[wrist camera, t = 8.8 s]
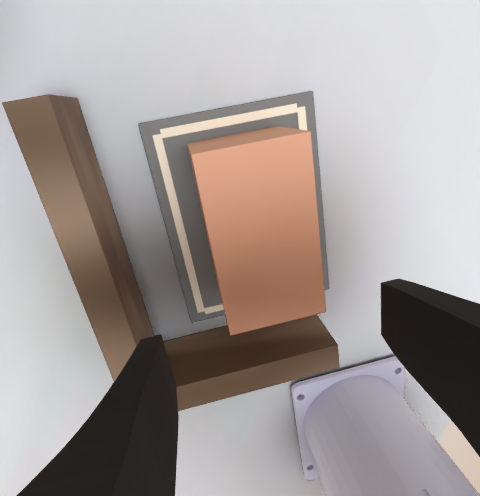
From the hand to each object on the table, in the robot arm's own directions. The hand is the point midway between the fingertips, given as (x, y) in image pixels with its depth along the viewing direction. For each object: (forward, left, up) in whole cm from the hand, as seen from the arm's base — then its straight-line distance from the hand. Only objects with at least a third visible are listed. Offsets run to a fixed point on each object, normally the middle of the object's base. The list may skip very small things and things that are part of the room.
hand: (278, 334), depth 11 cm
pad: (+1, -1, -9) cm, 9 cm away
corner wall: (+1, +2, -9) cm, 9 cm away
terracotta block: (+2, -1, -9) cm, 9 cm away
